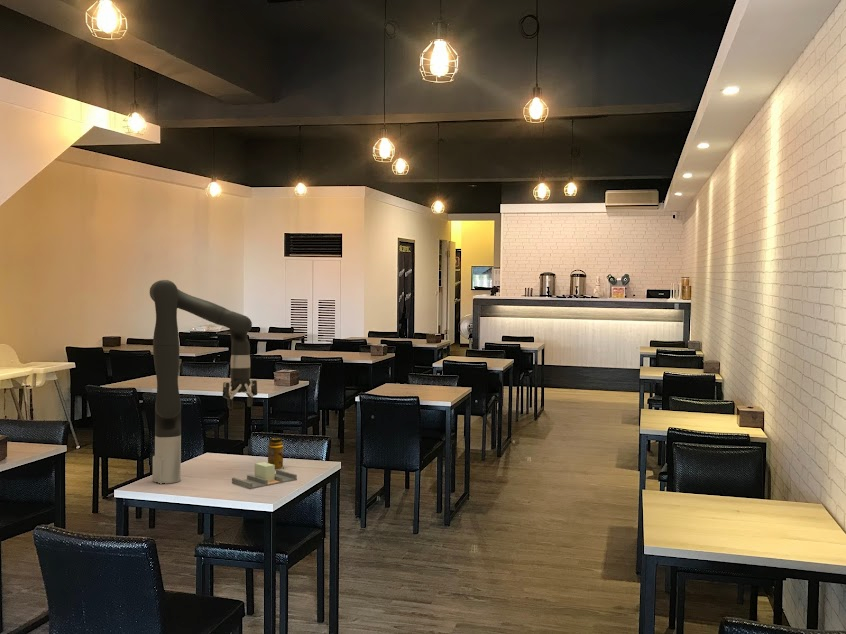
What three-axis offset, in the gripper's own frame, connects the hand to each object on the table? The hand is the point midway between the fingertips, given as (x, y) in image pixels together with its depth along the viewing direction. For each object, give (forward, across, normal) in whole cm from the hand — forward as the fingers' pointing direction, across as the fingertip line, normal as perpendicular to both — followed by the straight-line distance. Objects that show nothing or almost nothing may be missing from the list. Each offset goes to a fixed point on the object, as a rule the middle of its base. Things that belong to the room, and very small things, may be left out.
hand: (240, 407), depth 301 cm
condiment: (+26, -16, 0) cm, 31 cm away
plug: (+26, 0, +17) cm, 31 cm away
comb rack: (+26, 0, +17) cm, 31 cm away
